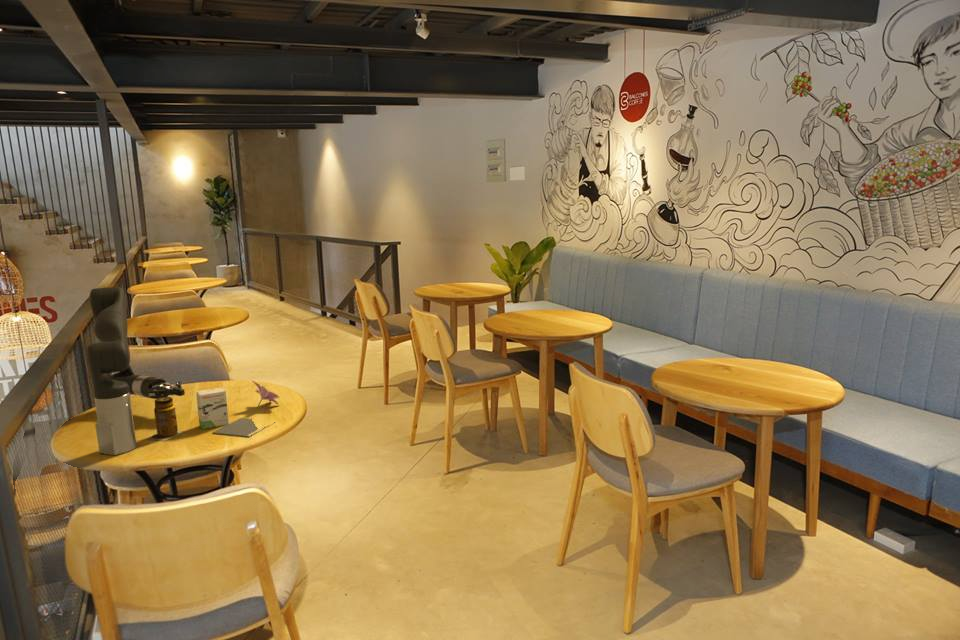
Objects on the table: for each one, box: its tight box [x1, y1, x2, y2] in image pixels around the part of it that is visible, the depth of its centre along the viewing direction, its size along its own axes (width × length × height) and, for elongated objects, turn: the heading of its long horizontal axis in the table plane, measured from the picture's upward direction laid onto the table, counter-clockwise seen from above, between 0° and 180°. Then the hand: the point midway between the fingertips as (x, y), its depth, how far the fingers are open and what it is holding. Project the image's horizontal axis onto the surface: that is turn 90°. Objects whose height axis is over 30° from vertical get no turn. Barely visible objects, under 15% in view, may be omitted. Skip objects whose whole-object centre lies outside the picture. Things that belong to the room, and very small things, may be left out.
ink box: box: [195, 387, 230, 430], centre depth 217 cm, size 9×5×12 cm, turn 124°
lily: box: [251, 380, 280, 410], centre depth 234 cm, size 12×12×10 cm
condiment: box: [146, 396, 185, 442], centre depth 209 cm, size 7×8×12 cm
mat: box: [212, 417, 266, 438], centre depth 214 cm, size 14×14×1 cm
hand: (182, 392), depth 223 cm, fingers closed
